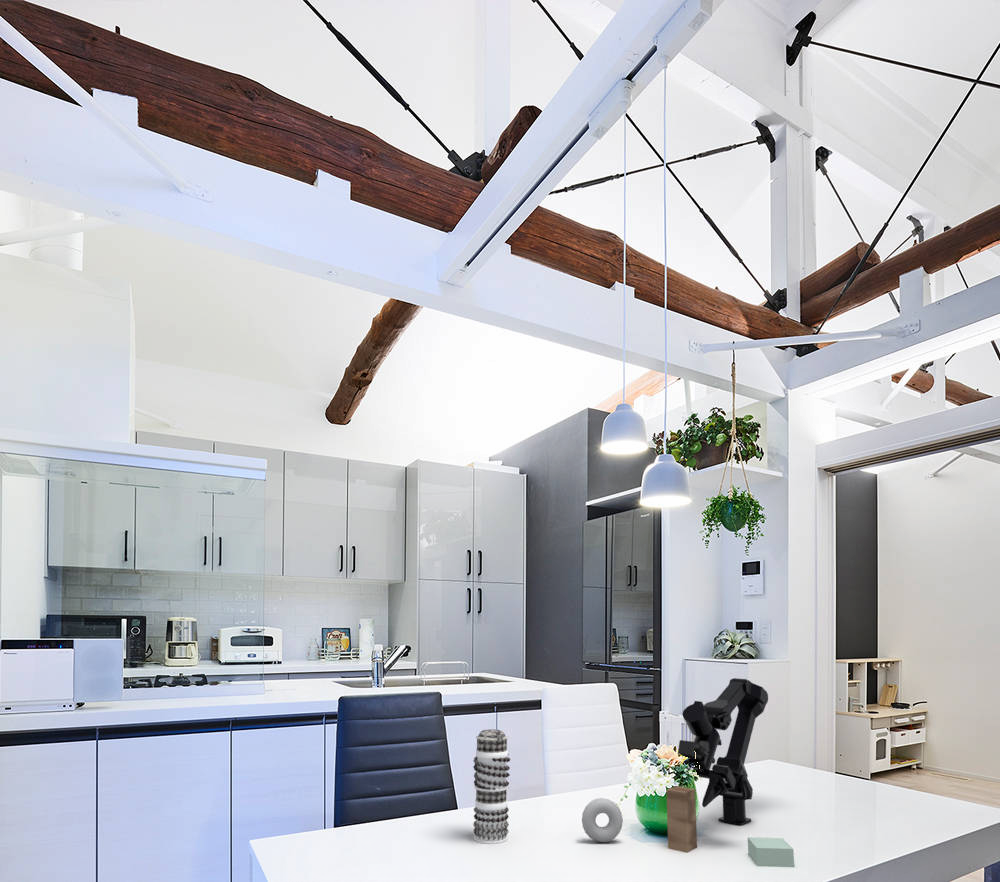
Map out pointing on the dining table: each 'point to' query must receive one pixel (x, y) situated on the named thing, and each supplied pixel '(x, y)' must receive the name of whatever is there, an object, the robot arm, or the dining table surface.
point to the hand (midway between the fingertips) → (685, 802)
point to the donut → (613, 825)
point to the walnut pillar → (681, 819)
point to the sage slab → (770, 852)
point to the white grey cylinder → (491, 787)
